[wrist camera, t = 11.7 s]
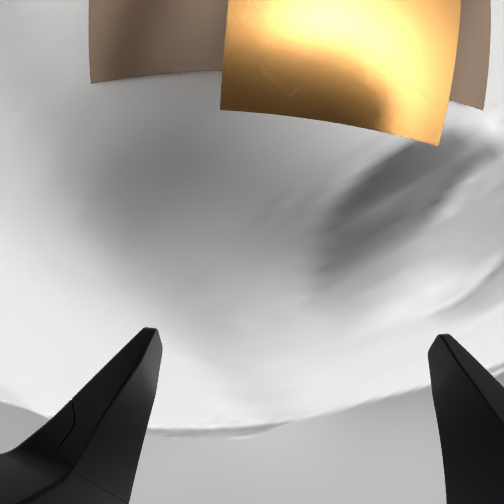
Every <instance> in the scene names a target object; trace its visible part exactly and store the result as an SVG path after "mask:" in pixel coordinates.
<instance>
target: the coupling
mask: <svg viewBox="0 0 504 504" xmlns="http://www.w3.org/2000/svg"><path fill="white" fill-rule="evenodd" d="M460 9H461V0H229V1H228V11H227V22H226V34H225V46H224V59H223V72H222V87H221V103H220V110H230V111H244V112H256V113H267V114H277V115H285V116H293V117H301V118H308V119H315V120H322V121H328V122H334V123H340V124H346V125H351V126H356V127H361V128H366V129H371V130H376V131H381V132H385V133H389V134H394V135H398V136H402V137H406V138H410V139H414V140H418V141H422V142H425V143H429V144H433V145H436V146H438V145H439V141H440V137H441V133H442V129H443V124H444V120H445V115H446V111H447V106H448V101H449V96H450V90H451V85H452V79H453V72H454V66H455V59H456V51H457V43H458V34H459V23H460Z"/></svg>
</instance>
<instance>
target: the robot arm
mask: <svg viewBox="0 0 504 504" xmlns="http://www.w3.org/2000/svg"><path fill="white" fill-rule="evenodd" d="M161 357H162V343H161V339H160V336H159V332H158V330H157V329H156V328H148V327H145V328H143V329H142V330H141V331H140V332H139V333H138V334H137V335H136V336H135V337H134V338H133V339H132V340H131V341H130V342H129V343H127V344H126V345H125V346H124V347H123V348H122V349H121V350H120V351H119V352H118V353H117V354H116V355H115V356H114V357H113V358H112V359H111V360H110V361H109V362H108V363H107V364H106V365H105V366H104V367H103V368H102V369H101V370H100V371H99V372H98V373H97V374H96V375H95V376H94V377H93V378H92V379H91V380H90V381H89V382H88V383H87V384H86V385H85V386H84V387H83V388H82V389H81V390H80V391H79V392H78V393H77V394H76V395H75V396H74V397H73V398H72V400H70V401H69V402H68V403H67V404H66V405H65V406H64V407H63V408H62V409H61V410H60V411H59V412H58V413H57V414H56V415H55V416H54V417H53V418H52V419H50V420H49V421H48V422H47V423H46V424H45V425H43V426H42V427H41V428H40V429H38V430H37V431H36V432H35V433H34V434H32V435H31V436H30V437H29V438H27V440H25V441H24V442H23V443H21V444H20V445H19V446H17V447H16V448H14V449H13V450H11V451H9V452H6V453H3V454H0V504H129V500H130V496H131V491H132V487H133V482H134V478H135V474H136V470H137V465H138V461H139V457H140V453H141V449H142V445H143V441H144V437H145V433H146V429H147V425H148V421H149V418H150V414H151V410H152V406H153V403H154V399H155V395H156V389H157V382H158V376H159V369H160V363H161ZM428 361H429V369H430V377H431V387H432V395H433V401H434V406H435V411H436V417H437V422H438V429H439V434H440V441H441V448H442V456H443V465H444V474H445V485H446V495H447V496H446V500H447V504H504V387H503V386H502V385H501V384H500V383H499V382H498V381H497V380H496V379H495V378H494V377H493V376H492V375H491V374H490V373H489V372H488V371H487V370H486V369H485V368H484V367H483V366H482V365H481V364H480V363H479V362H478V361H477V360H476V359H475V358H474V357H473V356H472V355H471V354H470V353H469V352H468V351H467V350H466V349H465V348H464V347H462V346H461V345H460V344H459V343H458V342H457V341H456V340H455V339H454V338H453V337H452V336H451V335H449V334H439V335H438V336H437V337H436V339H435V340H434V342H433V344H432V345H431V347H430V349H429V351H428Z"/></svg>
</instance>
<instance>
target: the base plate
mask: <svg viewBox="0 0 504 504" xmlns="http://www.w3.org/2000/svg"><path fill="white" fill-rule="evenodd" d="M228 1H229V0H89V60H90V78H91V84H93V83H99V82H104V81H110V80H116V79H122V78H129V77H137V76H145V75H153V74H163V73H175V72H189V71H209V70H223V59H224V46H225V34H226V22H227V11H228ZM490 30H491V6H490V0H461V9H460V23H459V34H458V43H457V51H456V59H455V66H454V72H453V79H452V85H451V90H450V96H449V100H452V101H456V102H459V103H462V104H465V105H468V106H471V107H474V108H477V109H480V110H483V108H484V101H485V94H486V86H487V77H488V66H489V53H490Z"/></svg>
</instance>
